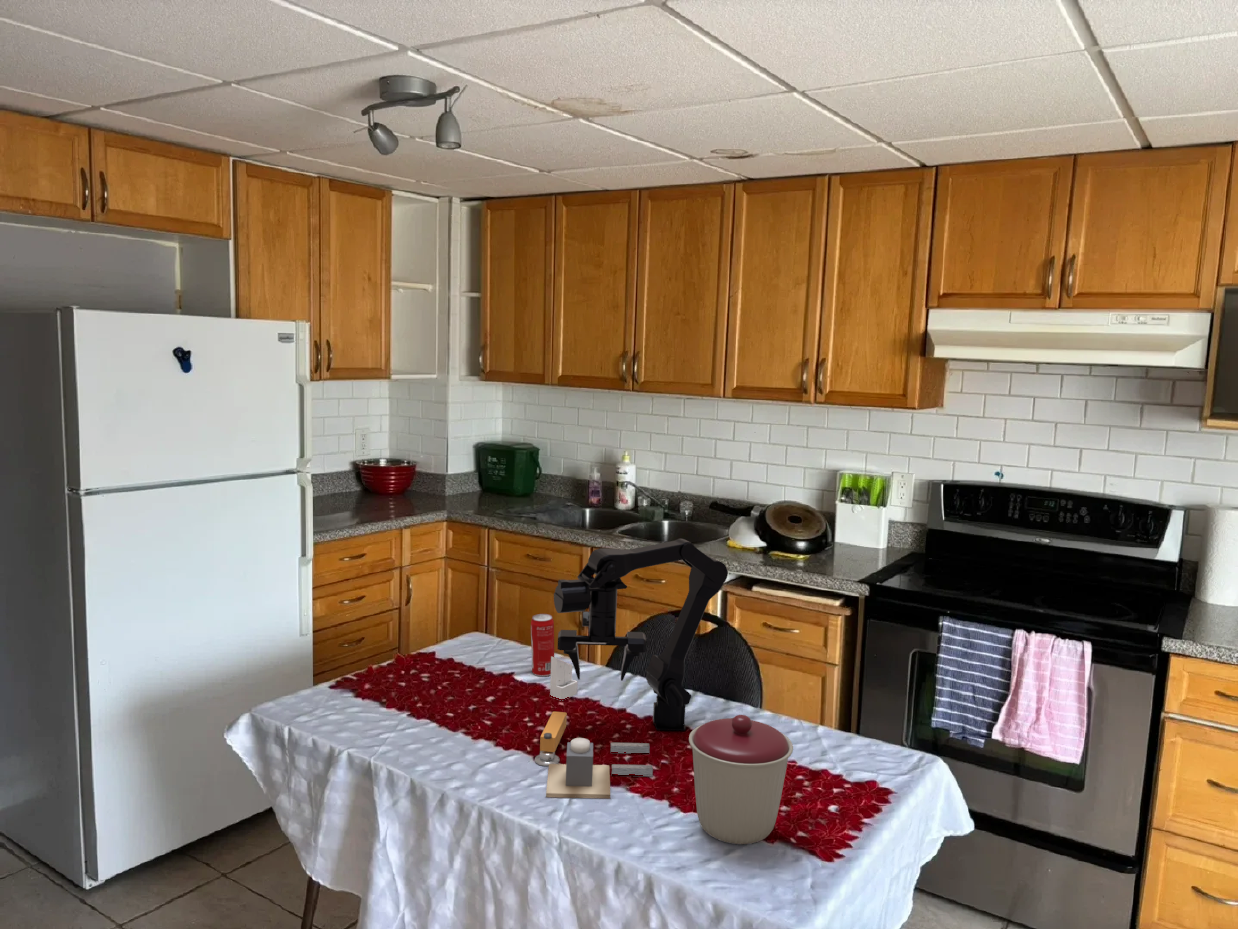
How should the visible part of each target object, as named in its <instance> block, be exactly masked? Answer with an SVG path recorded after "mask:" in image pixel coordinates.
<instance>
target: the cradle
mask: <svg viewBox="0 0 1238 929" xmlns="http://www.w3.org/2000/svg"><path fill="white" fill-rule="evenodd" d="M650 747H651V746H650V743H646V742H645V743H643V742H641V743H640V742H610V753H611V752H618V753H617V754H631V753H649V754H650ZM624 752H626V753H624ZM534 763H535V764H536V765H538V766H541V767H549V764H560V757H559V755H556V751H555V752H548V751H540V750H539V754H538V755H537V754H536V756H535V757H534ZM653 768H654V766H653V765H651V764H647V765H646V764H615V763H614V764H611V775H612V774H618V775H629V774H635V775H643V776H642V777H653V772H654V770H653Z"/></svg>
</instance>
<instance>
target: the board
mask: <svg viewBox="0 0 1238 929" xmlns="http://www.w3.org/2000/svg"><path fill="white" fill-rule="evenodd" d="M610 773H611V772H610V765H607V764H593V773H592V787H591V786H566V763H564V764H563V763H558V764H549V766H548V771H547V781H546V789H545V790H546V792H545V797H546V798H565V799H566V798H567V799H569V798H570V799H603V800H604V799H607V800H611V776H610Z"/></svg>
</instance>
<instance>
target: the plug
mask: <svg viewBox="0 0 1238 929" xmlns="http://www.w3.org/2000/svg"><path fill="white" fill-rule="evenodd" d="M565 764H566V786H591V787H592V773H593V765H594V742H590V740H589V739H588V738H584V737H576V738H572V740H571V741H570V742H569V741H568V742H567V745H566V761H565Z"/></svg>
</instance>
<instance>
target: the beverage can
mask: <svg viewBox="0 0 1238 929" xmlns="http://www.w3.org/2000/svg"><path fill="white" fill-rule="evenodd" d="M530 621H531V622H530V637H531V640H530V642H531V672H532V674H533V675H535V676H537V677H548V676H551V656H552V657H555V622H554V619H553V616H552V615H551V614H547V613H539V614H535V615H532V618H531V620H530Z"/></svg>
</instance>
